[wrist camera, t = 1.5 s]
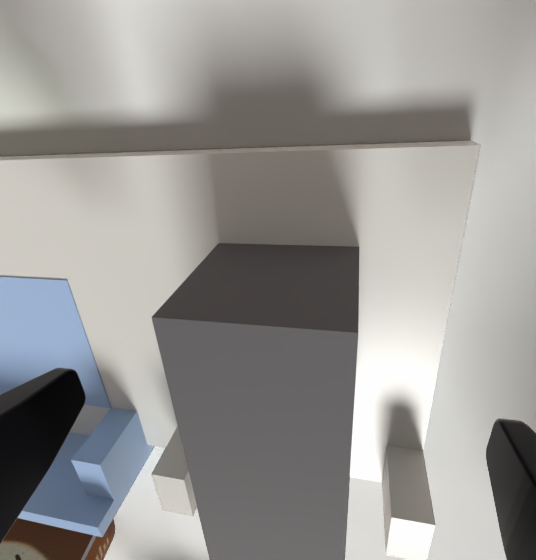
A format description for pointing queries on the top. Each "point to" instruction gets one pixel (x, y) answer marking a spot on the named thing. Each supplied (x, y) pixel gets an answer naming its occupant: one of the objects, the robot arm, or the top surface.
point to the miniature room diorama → (183, 261)
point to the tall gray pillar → (266, 395)
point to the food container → (52, 543)
